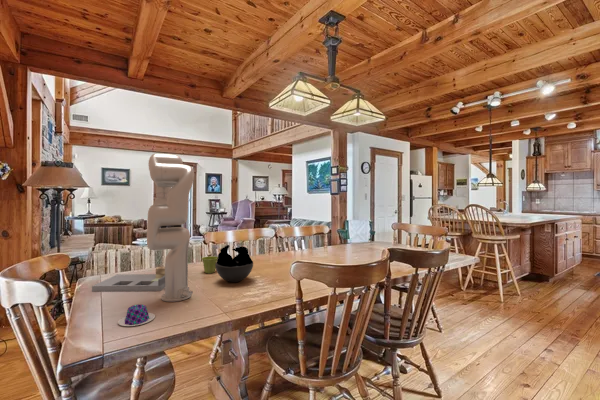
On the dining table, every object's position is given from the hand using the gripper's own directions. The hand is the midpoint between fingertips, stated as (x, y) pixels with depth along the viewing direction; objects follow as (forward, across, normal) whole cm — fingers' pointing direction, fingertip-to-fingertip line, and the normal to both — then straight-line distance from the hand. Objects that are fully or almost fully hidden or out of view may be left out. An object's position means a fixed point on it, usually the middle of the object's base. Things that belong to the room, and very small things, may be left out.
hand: (163, 228), depth 170 cm
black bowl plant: (+27, -42, +12) cm, 52 cm away
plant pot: (+27, -24, -7) cm, 37 cm away
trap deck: (+27, +6, +17) cm, 33 cm away
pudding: (+28, -16, +61) cm, 69 cm away
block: (+25, -4, +12) cm, 28 cm away
